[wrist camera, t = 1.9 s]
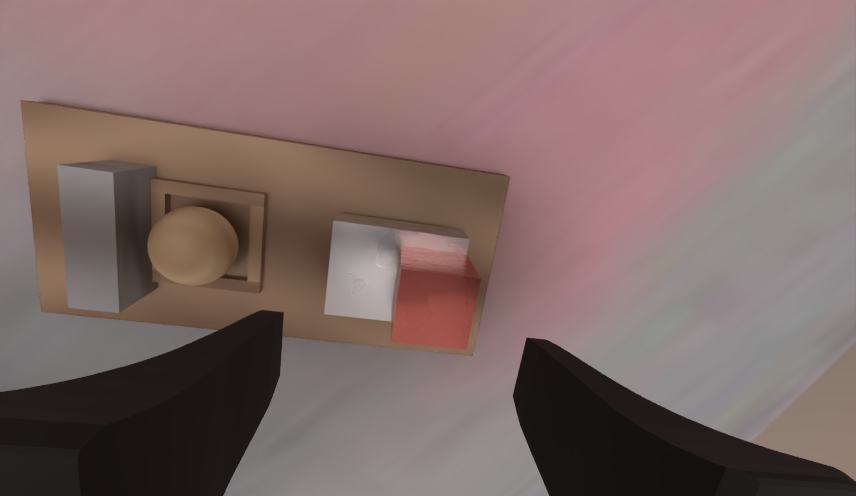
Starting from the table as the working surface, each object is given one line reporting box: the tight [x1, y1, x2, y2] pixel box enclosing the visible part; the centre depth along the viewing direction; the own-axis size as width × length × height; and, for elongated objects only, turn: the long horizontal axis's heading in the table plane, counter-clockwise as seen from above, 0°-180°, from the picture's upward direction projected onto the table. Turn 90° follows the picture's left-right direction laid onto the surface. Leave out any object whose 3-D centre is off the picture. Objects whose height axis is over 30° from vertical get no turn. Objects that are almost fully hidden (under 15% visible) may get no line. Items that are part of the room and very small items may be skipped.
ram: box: [324, 213, 481, 350], centre depth 18 cm, size 4×6×5 cm
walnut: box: [147, 206, 238, 285], centre depth 18 cm, size 4×4×4 cm
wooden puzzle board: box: [21, 100, 510, 356], centre depth 19 cm, size 10×22×4 cm, turn 81°
